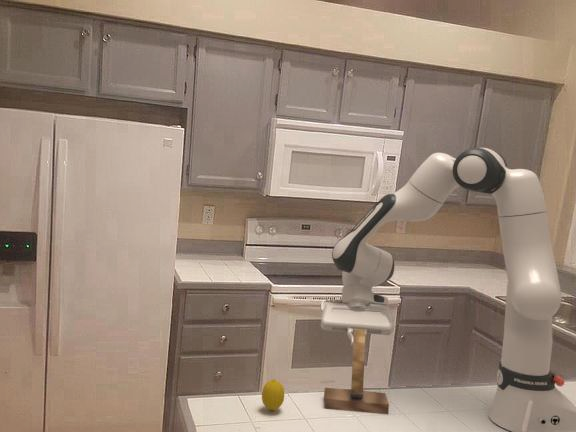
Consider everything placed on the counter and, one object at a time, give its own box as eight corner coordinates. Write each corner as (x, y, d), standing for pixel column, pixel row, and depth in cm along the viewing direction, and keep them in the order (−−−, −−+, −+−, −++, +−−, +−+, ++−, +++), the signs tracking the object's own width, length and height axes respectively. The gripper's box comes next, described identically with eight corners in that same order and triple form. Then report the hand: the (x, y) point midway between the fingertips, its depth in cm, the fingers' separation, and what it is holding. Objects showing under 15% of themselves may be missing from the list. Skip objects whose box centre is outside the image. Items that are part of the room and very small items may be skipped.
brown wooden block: (384, 402, 138) (385, 392, 138) (388, 414, 131) (389, 403, 131) (324, 396, 139) (324, 386, 139) (324, 408, 132) (325, 398, 132)
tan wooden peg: (362, 397, 134) (364, 330, 139) (363, 398, 131) (366, 329, 136) (350, 396, 134) (353, 329, 139) (351, 397, 131) (354, 328, 136)
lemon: (280, 417, 126) (282, 385, 125) (258, 414, 127) (260, 381, 126) (285, 407, 131) (287, 376, 130) (263, 404, 132) (265, 373, 131)
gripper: (321, 292, 150) (319, 336, 141) (393, 298, 149) (395, 343, 140) (320, 304, 154) (318, 347, 145) (390, 310, 153) (392, 353, 144)
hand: (356, 345), depth 143 cm, fingers closed
